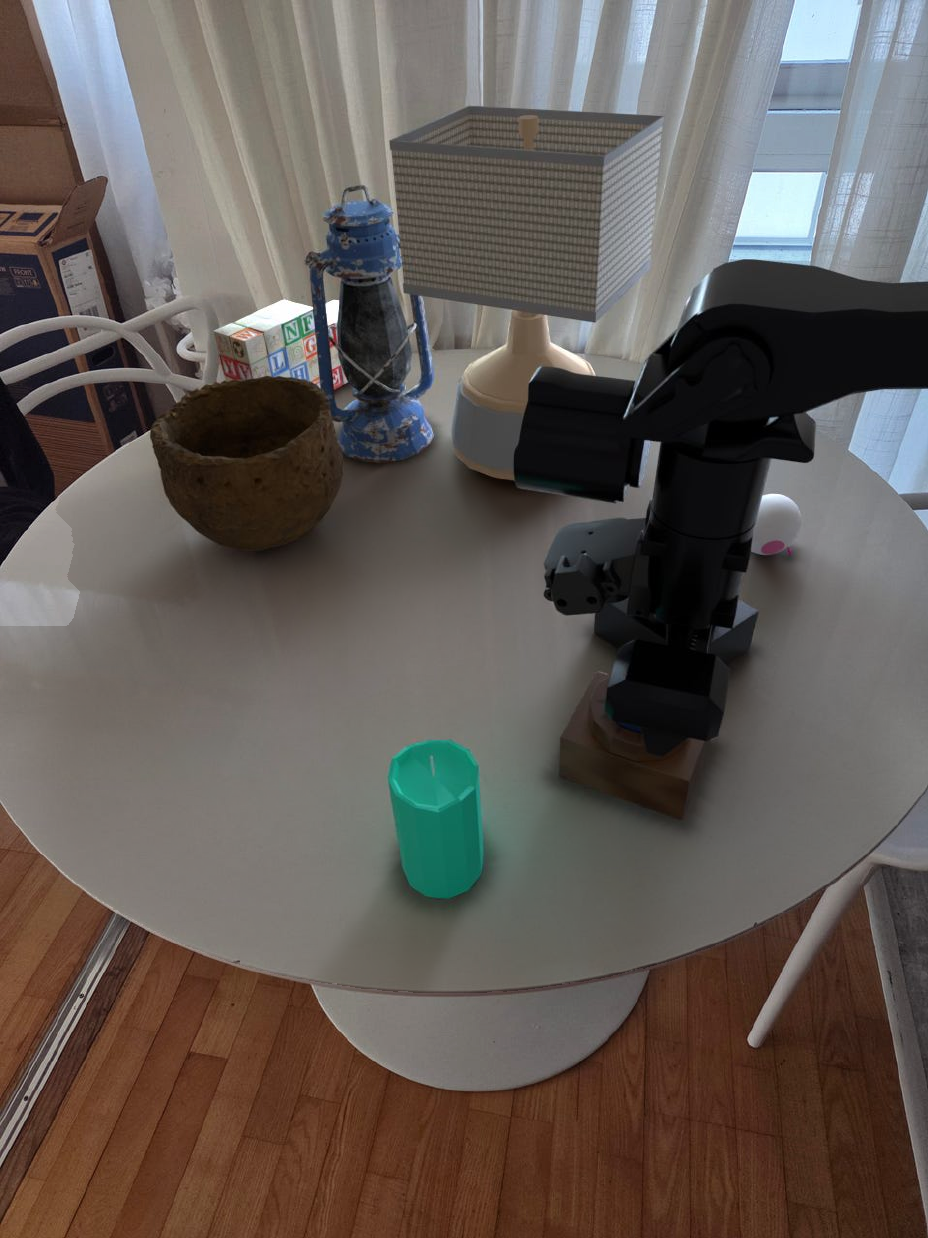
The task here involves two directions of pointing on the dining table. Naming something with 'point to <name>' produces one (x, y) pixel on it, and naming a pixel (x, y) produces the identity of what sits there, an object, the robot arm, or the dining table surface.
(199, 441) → the bowl
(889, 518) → the dining table surface
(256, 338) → the stack of blocks
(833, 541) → the dining table surface
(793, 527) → the stress ball
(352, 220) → the lantern
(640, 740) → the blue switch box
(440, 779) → the candle
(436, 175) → the desk lamp
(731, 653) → the switch box
